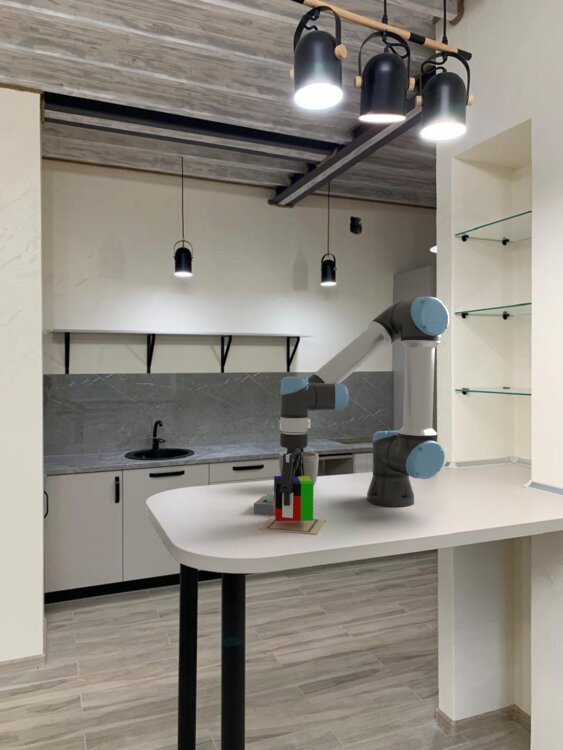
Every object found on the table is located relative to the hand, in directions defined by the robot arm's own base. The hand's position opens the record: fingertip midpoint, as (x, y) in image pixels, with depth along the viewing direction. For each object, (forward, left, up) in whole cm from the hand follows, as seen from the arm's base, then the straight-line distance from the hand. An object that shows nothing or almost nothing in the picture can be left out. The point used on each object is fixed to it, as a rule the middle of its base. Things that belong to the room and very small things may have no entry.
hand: (293, 511), depth 151 cm
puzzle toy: (0, 0, -1) cm, 1 cm away
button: (+9, -13, -2) cm, 16 cm away
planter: (+8, -40, -4) cm, 41 cm away
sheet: (0, 0, -4) cm, 4 cm away
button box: (+9, -13, -4) cm, 16 cm away
